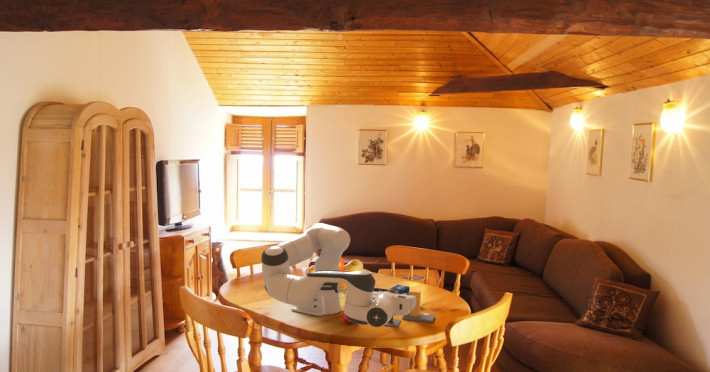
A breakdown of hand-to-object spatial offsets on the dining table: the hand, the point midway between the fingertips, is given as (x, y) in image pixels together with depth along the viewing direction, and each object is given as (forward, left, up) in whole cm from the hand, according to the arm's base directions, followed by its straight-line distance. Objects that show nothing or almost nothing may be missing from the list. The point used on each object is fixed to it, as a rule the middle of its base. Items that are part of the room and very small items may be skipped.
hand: (392, 294), depth 201 cm
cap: (-19, +6, -16) cm, 26 cm away
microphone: (-6, +41, -16) cm, 45 cm away
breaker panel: (+8, +22, -16) cm, 28 cm away
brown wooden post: (-3, +11, -16) cm, 19 cm away
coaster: (-3, +12, -16) cm, 20 cm away
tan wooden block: (+6, +22, -15) cm, 27 cm away
